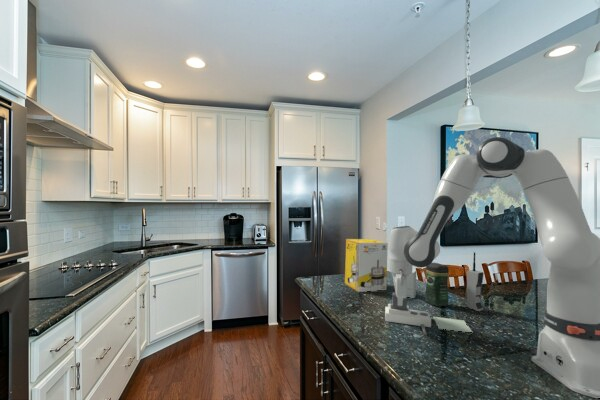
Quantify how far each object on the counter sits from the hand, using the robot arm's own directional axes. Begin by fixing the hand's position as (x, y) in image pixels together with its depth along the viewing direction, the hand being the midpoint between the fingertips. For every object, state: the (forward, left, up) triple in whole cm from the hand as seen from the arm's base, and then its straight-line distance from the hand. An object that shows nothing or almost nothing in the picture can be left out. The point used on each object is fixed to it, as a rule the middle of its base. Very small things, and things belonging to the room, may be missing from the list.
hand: (399, 303), depth 113 cm
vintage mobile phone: (+24, -33, -7) cm, 41 cm away
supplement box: (+34, -6, -7) cm, 35 cm away
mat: (+1, -19, -6) cm, 20 cm away
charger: (0, 0, -3) cm, 3 cm away
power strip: (-4, -3, -6) cm, 8 cm away
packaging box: (+42, +15, -7) cm, 45 cm away
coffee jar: (+26, -18, -7) cm, 32 cm away
